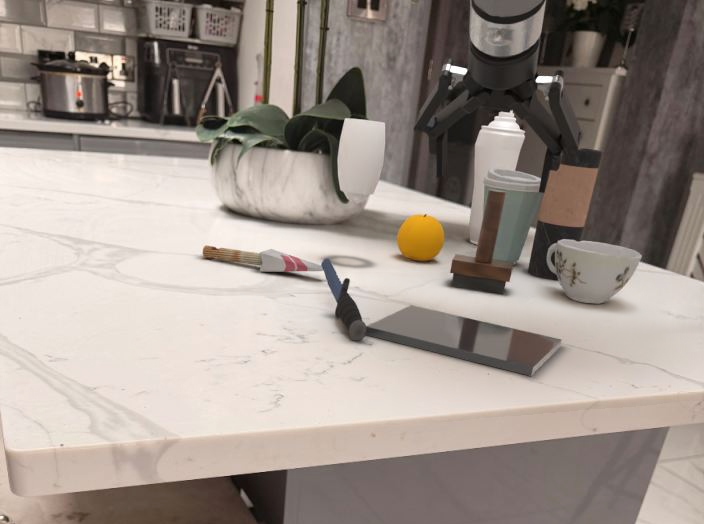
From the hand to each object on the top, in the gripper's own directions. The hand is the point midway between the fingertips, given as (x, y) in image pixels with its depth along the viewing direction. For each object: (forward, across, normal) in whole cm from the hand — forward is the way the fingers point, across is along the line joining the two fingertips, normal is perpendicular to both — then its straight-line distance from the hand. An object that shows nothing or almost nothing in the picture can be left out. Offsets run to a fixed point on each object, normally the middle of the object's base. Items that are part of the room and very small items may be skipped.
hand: (492, 177), depth 101 cm
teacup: (+23, +15, 0) cm, 28 cm away
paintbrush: (+10, -31, -14) cm, 35 cm away
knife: (-3, -13, -22) cm, 26 cm away
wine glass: (+21, -22, -2) cm, 31 cm away
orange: (+29, -13, +6) cm, 33 cm away
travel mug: (+33, +10, +10) cm, 36 cm away
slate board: (-3, +3, -26) cm, 26 cm away
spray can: (+50, -4, +26) cm, 57 cm away
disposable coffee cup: (+36, 0, +13) cm, 39 cm away
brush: (+19, 0, -4) cm, 20 cm away
